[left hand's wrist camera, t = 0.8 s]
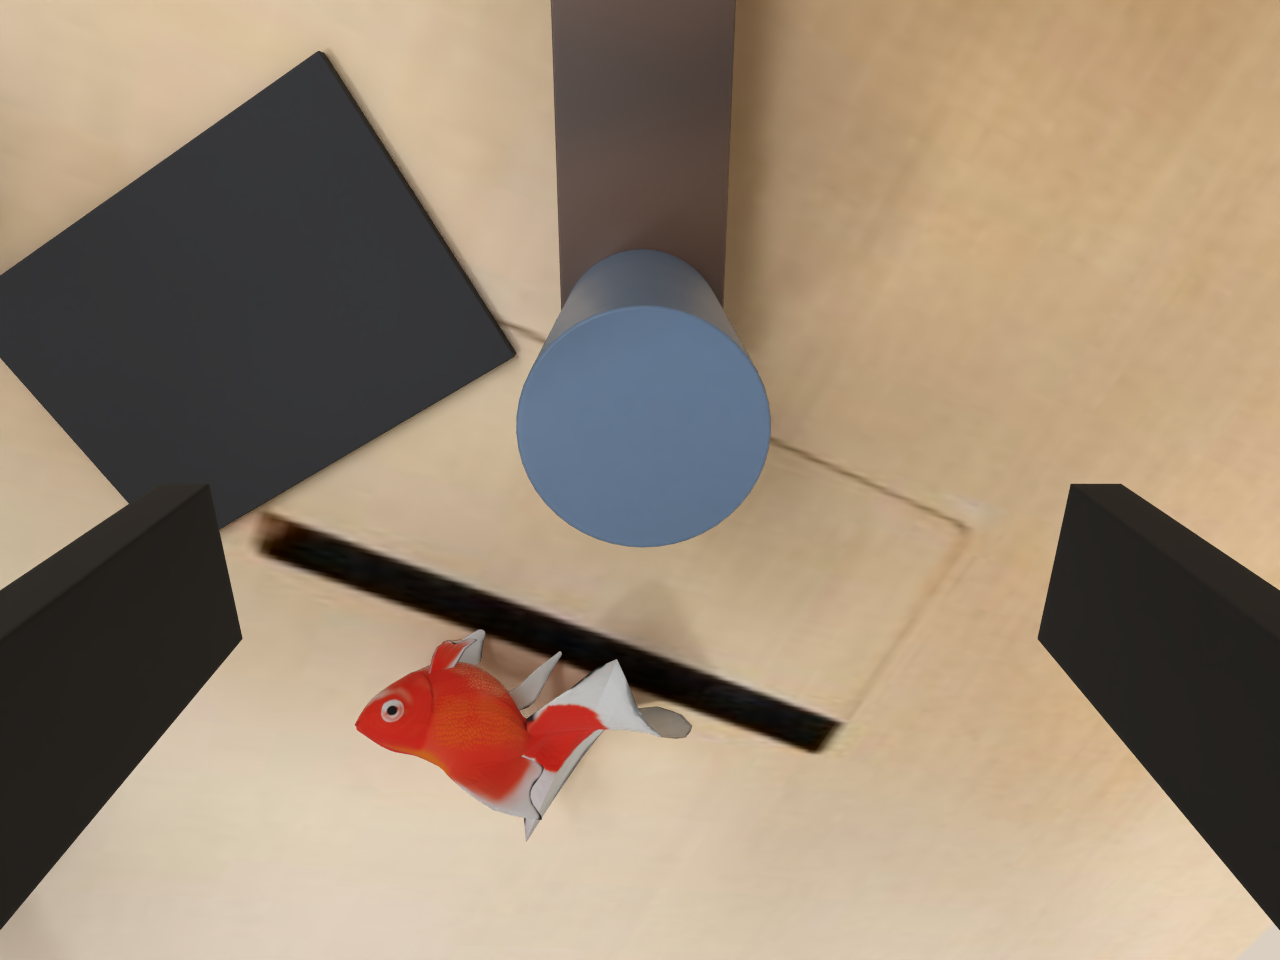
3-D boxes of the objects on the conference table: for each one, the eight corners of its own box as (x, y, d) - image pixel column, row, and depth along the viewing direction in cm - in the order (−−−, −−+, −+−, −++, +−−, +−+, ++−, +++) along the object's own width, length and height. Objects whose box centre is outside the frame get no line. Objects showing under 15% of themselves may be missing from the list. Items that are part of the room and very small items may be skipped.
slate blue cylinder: (613, 435, 31) (599, 587, 20) (531, 302, 30) (465, 388, 18) (750, 361, 30) (814, 478, 19) (673, 217, 28) (695, 254, 17)
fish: (427, 538, 34) (435, 768, 28) (702, 594, 43) (753, 780, 37) (339, 653, 41) (331, 863, 35) (595, 682, 49) (624, 854, 43)
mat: (180, 550, 40) (174, 555, 39) (-35, 304, 36) (-46, 307, 35) (516, 353, 36) (514, 356, 36) (323, 51, 32) (318, 50, 31)
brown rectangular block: (707, 371, 37) (719, 409, 31) (575, 370, 37) (564, 409, 31) (728, -235, 28) (749, -331, 23) (559, -235, 28) (539, -331, 23)
